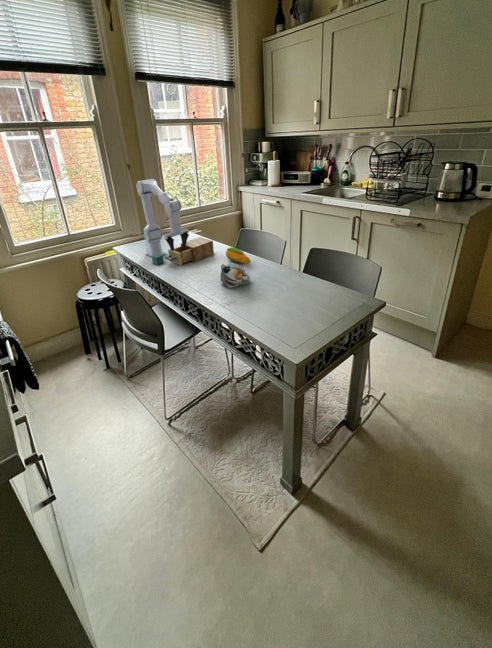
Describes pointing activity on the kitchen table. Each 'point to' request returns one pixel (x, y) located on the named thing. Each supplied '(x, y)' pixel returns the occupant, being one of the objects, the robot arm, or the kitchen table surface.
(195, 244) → the cabinet
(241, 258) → the corn
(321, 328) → the kitchen table surface
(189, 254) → the drawer
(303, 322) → the kitchen table surface
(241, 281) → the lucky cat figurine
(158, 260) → the block
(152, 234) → the robot arm
